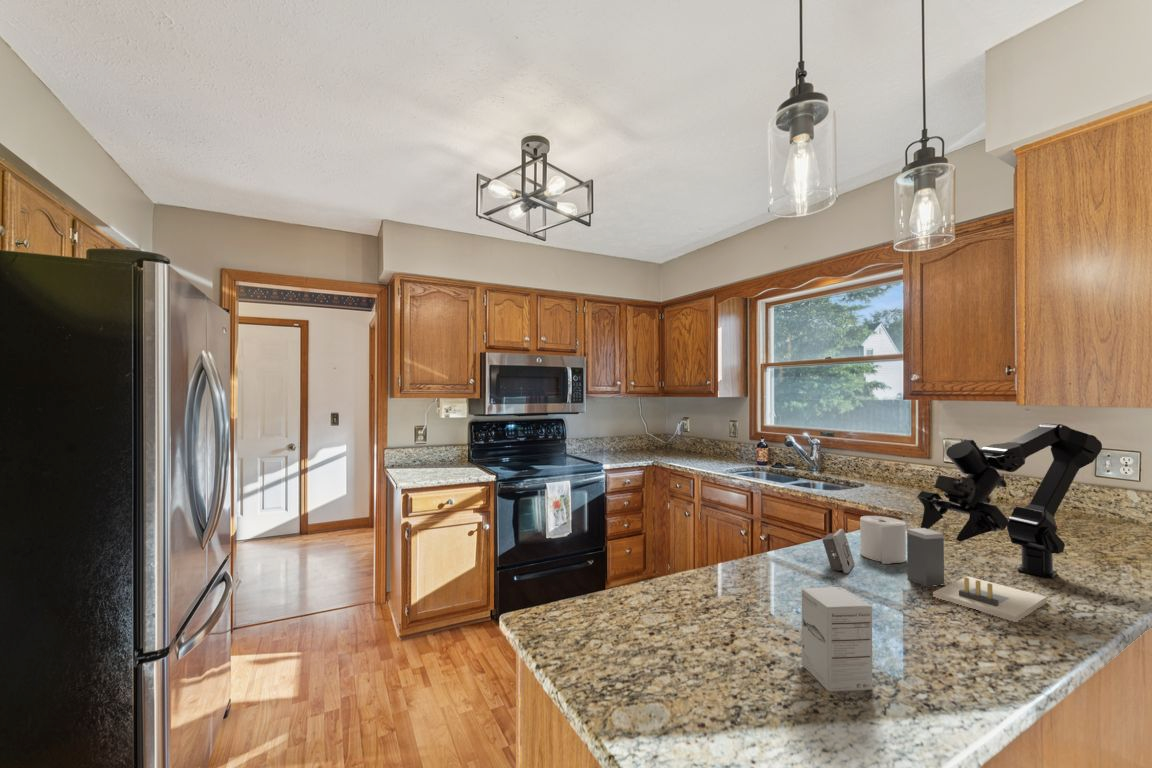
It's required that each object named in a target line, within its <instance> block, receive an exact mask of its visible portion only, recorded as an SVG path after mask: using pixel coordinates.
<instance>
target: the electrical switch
mask: <svg viewBox="0 0 1152 768" xmlns="http://www.w3.org/2000/svg"><path fill="white" fill-rule="evenodd" d="M822 543H823V547H824V550H825V552H826V556H827V560H828V563H829V566H830V569H831V571H834V572H835V571H842V572H843V574H849V573H850V572H851V570H852V568H854V566H855V561H854V557H853V554H852V550H851V549H850V545H849V541H848V538H847V535H846V533H845V530H844V529H843V528H839V529H838V530H837V531H836V532H830V533H827V534H826V536H825V537H823V538H822Z"/></svg>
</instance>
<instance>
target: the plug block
mask: <svg viewBox="0 0 1152 768" xmlns="http://www.w3.org/2000/svg"><path fill="white" fill-rule="evenodd" d="M944 535H945V533H943V532H940V531H936V530H932V529H930V528H929V529H926V528H921V527H919V528H906V562H907V565H906V566H907V580H908V579H910V580H909V581H911V580H912V581H911V582H913V581H915V582H917V583H916V584H918V583H920V584H922V585H921V586H923V585H925V586H933V585H941V584H944V585H945V552H944V551H945V548H944V545H945V544H944V543H945V542H944V539H945V538H944V537H945V536H944ZM915 582H914V583H915ZM920 584H919V585H920ZM925 586H924V587H925ZM933 587H934V586H933Z"/></svg>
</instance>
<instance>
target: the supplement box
mask: <svg viewBox="0 0 1152 768" xmlns="http://www.w3.org/2000/svg"><path fill="white" fill-rule="evenodd" d="M801 666H802V667H803V668H804V669H805V670H807V671H808V672H809V673H810V674H811V675H812V676H813V678H815V679H816V681H818V683H820V685H822V686H823V687H824V688H825V690H826V691H828V692H829V693H830V692H835V693H836V692H850V691H851V692H852V691H853V692H854V691H868V690H869V691H870V690H873V606H872V605H871V604H869V602H866V601H864V600H863V599H861V598H860V597H858V596H857V595H854V594H853V593H851V592H850V591H849V590H847V589H845V588H843V587H841V586H840V587H839V586H838V587H837V586H834V587H832V586H831V587H807V588H801Z"/></svg>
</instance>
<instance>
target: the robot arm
mask: <svg viewBox="0 0 1152 768" xmlns="http://www.w3.org/2000/svg"><path fill="white" fill-rule="evenodd" d="M1048 447H1050V452H1051V455H1052V458H1053V460H1052V462H1051V464H1050V466H1049V467H1048V469H1047V471H1046V473H1045V475H1044V476H1043V478H1042V480H1041V482H1040V484H1039V486H1038V488H1037V489H1036V490H1035V493H1034V495H1033V497H1032V499H1031V500H1030V502H1029V504H1028V505H1026V506H1025V507H1022V506H1015V507H1014V508H1013V510H1012V512H1011V514H1010V516H1009V517H1007V516H1006V515H1005V514H1004V513H1003V512H1002V511H1001V509H1000V508H999V507H998V506H997V505H996V504H995V505H994V504H991V503H990V502H991V501H992V499H991V498H990V496H991V494H992V492H993V491H994V490H995V489H996V488H997V487H1002V488H1007V481H1006V480H1005V475H1001V474H1000V473H999V472H998V471H1001V472H1006V473H1014V472H1016V471H1017V470H1019V469H1020V468H1021V467H1023V466H1024V465H1025V464H1026V459H1027V458H1028V457H1030V456H1032V455H1034V454H1036V453H1038V452H1040V451H1042V450H1044V449H1045V448H1048ZM1102 450H1103V444H1102V442H1101V440H1100V439H1098V438H1097V436H1095V435H1093V434H1088V433H1086V432H1083V431H1079V430H1076V429H1073V428H1070V427H1069V426H1067V425H1064V424H1063V423H1043V424H1039V425H1038V427H1036V428H1034V429H1032V430H1031V431H1028V432H1026V433H1024V434H1022V435H1020V436H1018V437H1016V438H1014V439H1012V440H1011V441H1007V442H1004V443H993V444H989V445H986V446H983V447H981V448H979V446H978V445H977V442H975V441H974V439H969V438H965V439H963V440H962V441H960V442H958V443H957V442H956V443H954V444H952V445H951V446H949V447H948V448H947V450H946V452H945V454H946V456H947V458H949V461H951V462H952V463H953V465H955V467H956V468H957V469H958V471H959V472H961V473H962V474H964V475H966V477H965V476H962V477H961V478H957V477H952V476H948V475H942V474H939V475H937V479H936V481H935V483H934V486H933V487H934V488H935V489H938V490H941V491H943V495H944V497H945V498H947V499H948V500H946V499H943V498H942V497H941V495H940V494H939V493H938V492H933V491H928V490H921V491H920V492H919V494H918V495H917V496H916V498H917V499H918V500H919V502H920V503H921V505H923V516H922V519H921V520H922V521H921V524H920V528H926V529H929V530H930V528H931V527H932V526H934V525H935V524H936V523H938V522H939V521H940V520H941V519H943V518H944V515H945V514H946V513H947V512H948V510H949V511H954V512H957V513H961V514H965V515H968V516H969V518H968V519H967V522H966V523H965V525H964V526H962V528H961V530H960V531H959V533H958V535H957V537H956V540H957V541H958V542H959V543H961V542H964V541H966V540H968V539H971V538H974V537H976V536H980V535H984V534H986V533H990V532H997V531H1004V530H1005V529H1006V530H1007V532H1008V536H1009V539H1010V542H1011V544H1013V545H1019V546H1021V548H1020V549H1021V551H1020V552H1021V553H1020V554H1021V565H1020V566H1019V567H1018V568H1017V569H1016V570H1017V572H1019V571H1020V573H1023V574H1030V575H1032V576H1033V575H1034V576H1039V577H1044V578H1048V579H1054V578H1055V577H1056V575H1057V574H1058V570H1054V565H1053V564H1054V562H1053V559H1054V558H1053V556H1054V555H1053V554H1056V555H1060V554H1061V553H1064V550H1065V546H1066V544H1065V542H1064V541H1063V540H1062V539H1061V537H1059V535H1058V534H1057V530H1058V526H1057V522H1056V519H1055V515H1056V513H1057V511H1058V509H1059V508H1060V506H1061V504H1062V502H1063V500H1064V499H1065V496H1066V494H1067V492H1068V491H1069V489H1070V487H1071V485H1072V484H1073V481H1074V479H1076V478H1075V477H1076V476H1077V474H1078V472H1079V470H1080V469H1082V468H1084V467H1086V466H1088V465H1089V464H1091V463H1094V461H1095V460H1096V458H1097V457H1098V456H1099V455H1100V453H1101V451H1102Z"/></svg>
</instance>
